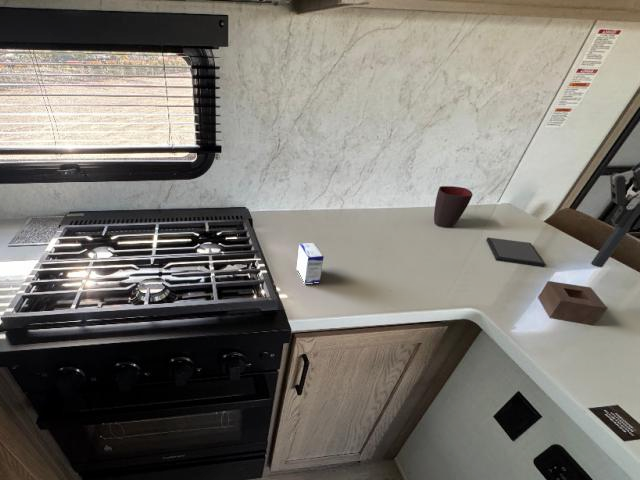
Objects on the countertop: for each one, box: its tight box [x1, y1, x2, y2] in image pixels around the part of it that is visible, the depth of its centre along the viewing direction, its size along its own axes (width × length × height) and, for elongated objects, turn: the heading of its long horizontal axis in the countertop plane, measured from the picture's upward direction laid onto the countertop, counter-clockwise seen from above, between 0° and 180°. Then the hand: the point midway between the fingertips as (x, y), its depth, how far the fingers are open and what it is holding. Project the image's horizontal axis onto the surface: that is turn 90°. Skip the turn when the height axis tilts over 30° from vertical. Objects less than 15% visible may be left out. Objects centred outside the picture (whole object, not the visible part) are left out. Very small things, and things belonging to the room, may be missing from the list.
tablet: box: [486, 237, 546, 268], centre depth 105 cm, size 12×14×1 cm
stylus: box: [590, 201, 640, 268], centre depth 71 cm, size 2×2×14 cm
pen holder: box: [537, 280, 608, 326], centre depth 81 cm, size 9×9×5 cm
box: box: [296, 242, 325, 286], centre depth 93 cm, size 8×4×9 cm, turn 9°
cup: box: [433, 185, 474, 229], centre depth 121 cm, size 10×14×12 cm
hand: (624, 226), depth 70 cm, fingers closed on stylus, 2 cm apart
